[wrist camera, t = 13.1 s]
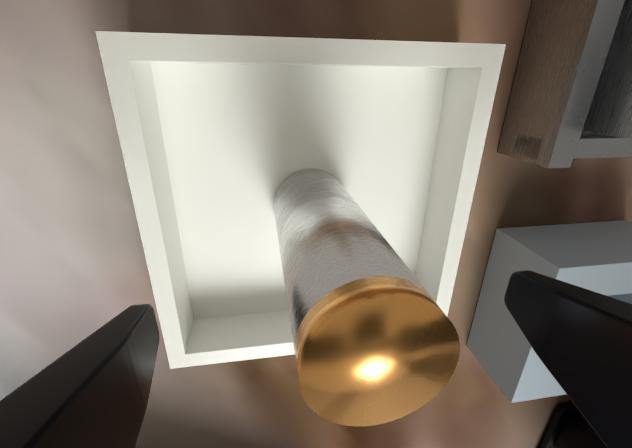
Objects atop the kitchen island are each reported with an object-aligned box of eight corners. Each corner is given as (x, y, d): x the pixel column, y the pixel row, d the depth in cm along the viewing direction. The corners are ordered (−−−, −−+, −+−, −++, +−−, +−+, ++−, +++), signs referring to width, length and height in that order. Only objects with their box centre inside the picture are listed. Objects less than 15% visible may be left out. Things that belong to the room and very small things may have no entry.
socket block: (578, 332, 22) (641, 382, 18) (466, 345, 21) (511, 403, 17) (625, 220, 19) (713, 254, 15) (496, 228, 17) (559, 268, 14)
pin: (344, 235, 15) (444, 414, 7) (274, 239, 15) (299, 436, 7) (348, 167, 14) (474, 293, 6) (271, 169, 14) (299, 310, 6)
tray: (417, 301, 19) (442, 336, 16) (182, 324, 17) (170, 368, 14) (459, 49, 14) (506, 43, 11) (129, 40, 12) (95, 31, 9)
